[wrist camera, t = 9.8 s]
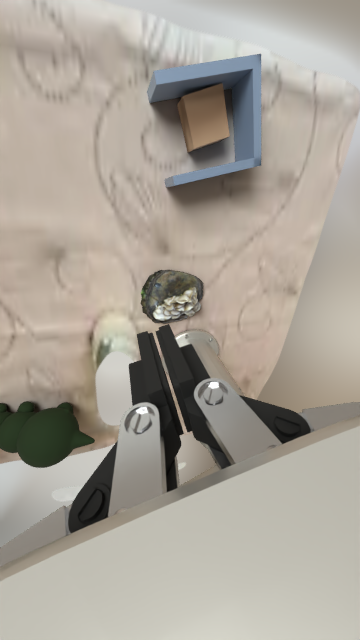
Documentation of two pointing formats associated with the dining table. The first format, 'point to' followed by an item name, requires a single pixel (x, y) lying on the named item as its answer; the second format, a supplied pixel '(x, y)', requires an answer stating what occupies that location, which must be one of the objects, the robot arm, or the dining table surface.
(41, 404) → the dining table surface
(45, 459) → the toy figurine
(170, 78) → the box
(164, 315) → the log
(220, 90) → the cardboard shipping box
